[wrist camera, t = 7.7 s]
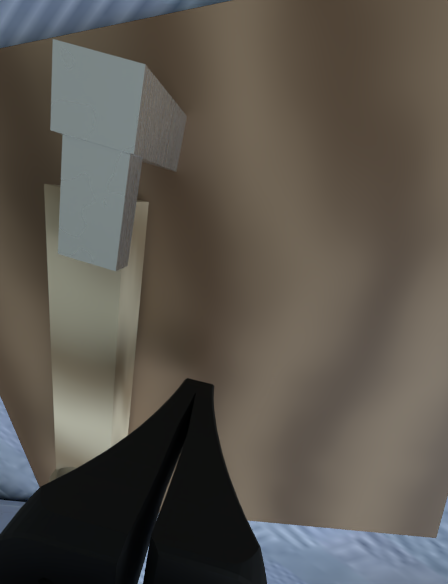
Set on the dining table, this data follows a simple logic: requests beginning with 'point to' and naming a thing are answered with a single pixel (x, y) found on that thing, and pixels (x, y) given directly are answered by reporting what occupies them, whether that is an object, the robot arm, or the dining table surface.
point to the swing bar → (91, 343)
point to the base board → (269, 250)
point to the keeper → (107, 147)
